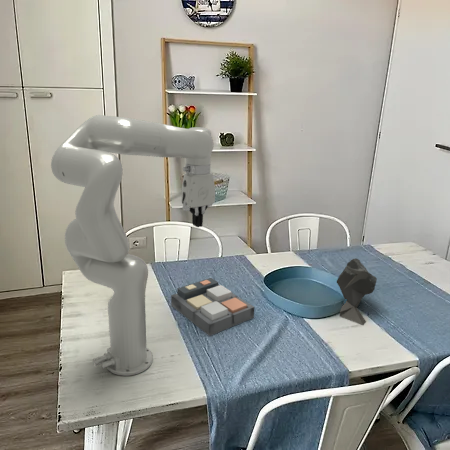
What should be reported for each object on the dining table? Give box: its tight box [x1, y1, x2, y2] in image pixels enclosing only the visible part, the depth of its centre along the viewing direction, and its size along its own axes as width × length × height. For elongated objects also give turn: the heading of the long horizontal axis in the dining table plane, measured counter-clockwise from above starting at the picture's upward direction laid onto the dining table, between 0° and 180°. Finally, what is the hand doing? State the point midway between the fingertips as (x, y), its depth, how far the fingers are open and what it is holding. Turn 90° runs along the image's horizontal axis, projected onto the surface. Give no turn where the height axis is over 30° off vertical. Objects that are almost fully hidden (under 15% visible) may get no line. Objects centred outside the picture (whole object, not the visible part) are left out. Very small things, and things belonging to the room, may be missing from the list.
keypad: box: [170, 277, 255, 337], centre depth 144 cm, size 18×22×7 cm
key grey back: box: [207, 284, 233, 303], centre depth 147 cm, size 6×6×3 cm
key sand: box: [187, 295, 212, 310], centre depth 143 cm, size 6×6×3 cm
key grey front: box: [201, 301, 228, 321], centre depth 136 cm, size 6×6×3 cm
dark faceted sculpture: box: [336, 257, 378, 326], centre depth 147 cm, size 14×15×18 cm
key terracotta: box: [221, 298, 247, 314], centre depth 142 cm, size 6×6×3 cm
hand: (197, 225), depth 139 cm, fingers closed
